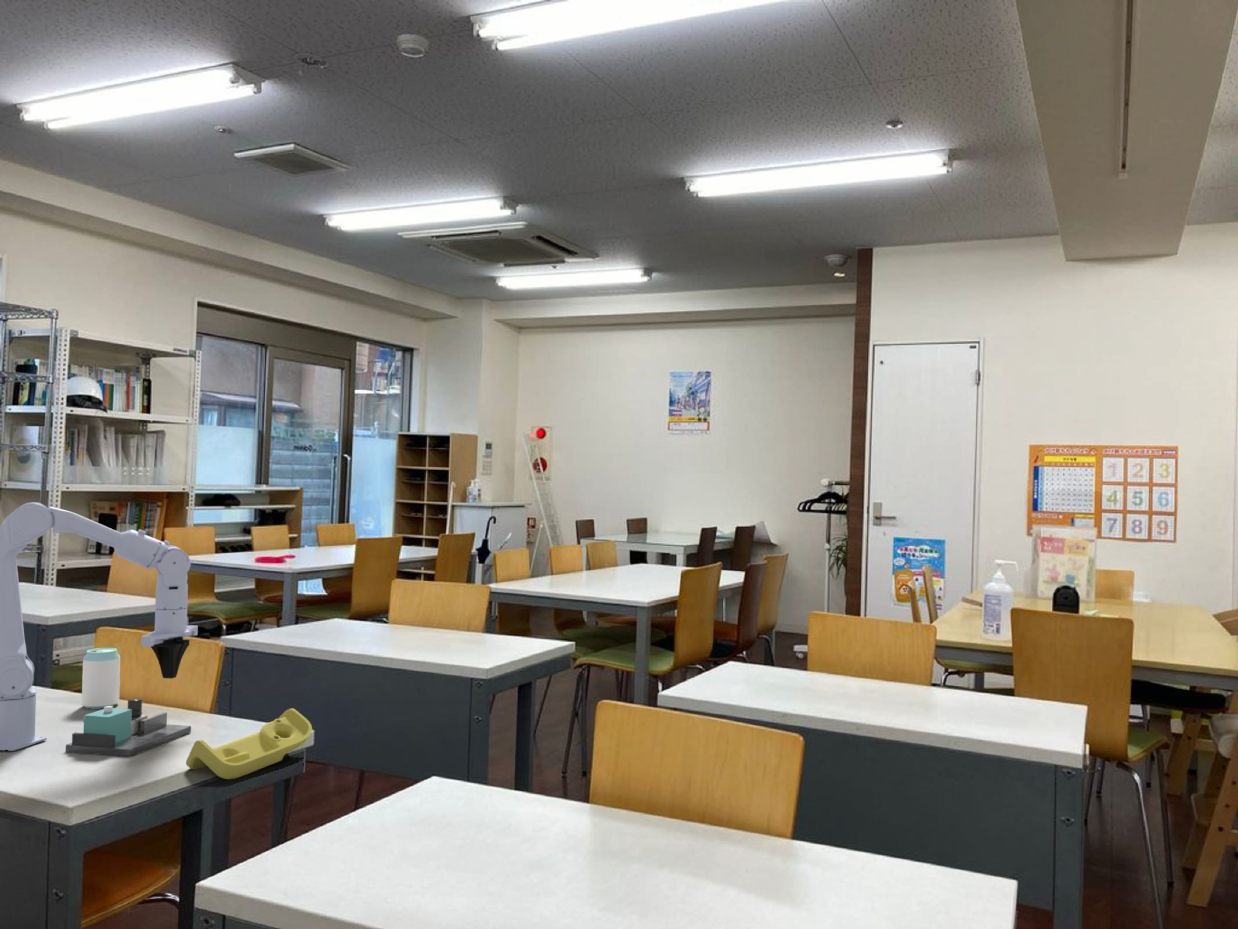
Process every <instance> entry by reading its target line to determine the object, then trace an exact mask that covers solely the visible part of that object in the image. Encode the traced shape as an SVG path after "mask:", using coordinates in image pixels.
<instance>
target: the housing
mask: <svg viewBox="0 0 1238 929" xmlns="http://www.w3.org/2000/svg"><path fill="white" fill-rule="evenodd" d="M131 720H132V709H128V708H117V707H116V708H115V707H114V706H105V707H104V708H103V709H98V710H97V711H94V712H91V713H87V714H85V715H83V733H90V734H104V735H115V743H116V742H118V741H121V740H124V739H126V738H129V737H131Z"/></svg>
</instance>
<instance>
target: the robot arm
mask: <svg viewBox="0 0 1238 929" xmlns="http://www.w3.org/2000/svg"><path fill="white" fill-rule="evenodd" d="M51 528H53V529H52V533H53V534H64V533H65V534H67V533H72V534H75V535H78V536H81V537H84V538H86V539H88V540H92V541H95V542H98V543H100V544H103V545H105V546H109V547H112V548H113V549H114V552H115V554H116V556H117V557H118V558H120V559H123V560H125V561H127V562H131V563H133V564H135V565H138V566H141V567H143V568H146V569H149V570H152V569H156V570H157V571H158V572H157V578H156V579H157V580H156V585H155V601H154V602H155V605H154V606H155V610H154V611H155V612H154V631H151V632H149V633H146V634H145V635H141V640H140V642H141V644H140V645H141V647H150V648H151V649H152V651H153V652H154V654H155V656H156V659H157V661H158V665H159V667H160V671H161V676H162V678H163V679H171V680H172V679H174V678H177V675H178V673H179V672H178V671H179V668H180V666H181V665H180V664H181V663H182V660H183V657H184V654H185V653H186V650H187V648H188V647H189V645H190V639H184V638H187V637H193V636H198V633H199V630H198V629H199V628H198V627H199V625H192V624H191V625H188V624H187V623H188V599H189V598H188V597H189V595H188V592H189V590H188V589H189V584H188V572H189V571H190V569H191V565H192V562H191V558H190V556H189V555H188V553H187V552H186V551H185V550H183V549H181V548H180V547H178V546H176V545H170V544H171V541H168V540H164V541H162V540H159V539H157V538H154V537H152V536H149V535H147V534H146V533H147V532H146V531H145V530H142V529H140V528H139V529H138V530H134V529H129V530H126V531H123V532H121V531H118V530H115V529H112V528H110V527H108V526H106V525H104V524H101V523H99V522H96V521H94V520H93V519H90V518H87V517H85V516H82V515H80V514H79V513H75V512H74V511H70V510H66V509H62V508H59V507H54V506H49V508H48V506H46V505H45V504H43V503H40V502H32V501H31V502H26V503H24V504H22V505H20V506H19V507H17V508H16V509H14V510H13V511H12V512H11V513H9V515H7V516H6V517H5V519H4V520H3V522H2V523H1V525H0V751H5V750H8V751H9V752H15V751H17V750H20V749H23V748H27V747H29V746H32V745H35V744H38V743H41V742H44V741H46V740H47V737H46V736H36V715H37V714H36V713H37V712H36V711H37V710H36V709H37V690H36V689H34V688H33V687H32V686H33V683H34V679H35V677H34V674H35V666H34V662H33V661H32V660H31V659H30V658H29V655H28V654H27V645H26V644H27V643H26V638H25V631H24V630H25V629H24V621H23V620H24V619H23V610H22V609H23V608H22V600H21V592H20V582H19V581H20V580H19V571H18V561H17V556H18V554H19V553H21V551H23V550H24V549H25V548H26V547H27V546H28V544H29V543H31V542H33V541H35V540H37V539H39V538H40V537H42V536H43V535H46V534H47V533H48V532H49V530H50V529H51Z"/></svg>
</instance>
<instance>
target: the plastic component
mask: <svg viewBox="0 0 1238 929" xmlns="http://www.w3.org/2000/svg"><path fill="white" fill-rule="evenodd" d="M312 726H313V725H312V723H311V722H310V721H309V720H308V718H306V717H305V716H303V714H301V713H300V712H299V711H298V710H296V708H288V709H286V710H285V711H284V712H283V713H282V714H281V715H280V716H279V717H278V718H276V719H275V718H274V720H273V721H270V722H269V721H268V722H267V723H265V724H264V725H263V726H262V727H261V728H260V731H259V732H257V733H254V734H250V735H248V736H245V737H242V738H239V739H237V740H233V741H231V742H228V743H225V744H222V745H220V746H217V747H214V748H212V747H211V746H210V745H209V744H208V743H206V741H204V740H203V739H199V740H196V741H195V742H194V743H193V746H192V748H191V749H190V752H189V754H188V757H187V758H186V762H185V764H186V766H187V767H188V768H190V769H191V770H197V769H201V768H203V767H206V766H207V767H208V768H209V769H210V770H211V771H212V772H213V773H215V775H216V776H218V777H219V778H222V779H225V780H233V779H237V778H240V777H243V776H246V775H249V774H251V773H254V772H256V771H259V770H261V769H263V768H266V767H268V766H272V765H274V764H277V763H279V762H281V761H282V760H283V759H284V756H285V755H288V753H290V752H292V751H295V750H296V749H298V748H299V747H301V746H303V744H304V743H305V742H306V741H307V740H308V739H309V737H310V736H311V735H312V732H313V727H312Z"/></svg>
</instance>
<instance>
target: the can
mask: <svg viewBox="0 0 1238 929" xmlns="http://www.w3.org/2000/svg"><path fill="white" fill-rule="evenodd" d="M120 678H121V656H120V653H118V649H117V648H115V647H99V648H98V647H97V648H91V649H87V650H86V654H85V655H84V657H83V658H82V681H81V682H82V683H81V685H82V686H81V688H82V689H81V705H82V707H85V708H86V707H87V708H86V709H88V708H91V709H90V710H102V709H101V708H103V709H104V707H105V706H113V707H114V705H115V706H116V705H117V704H118V703H119V702H120V682H121V680H120Z"/></svg>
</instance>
